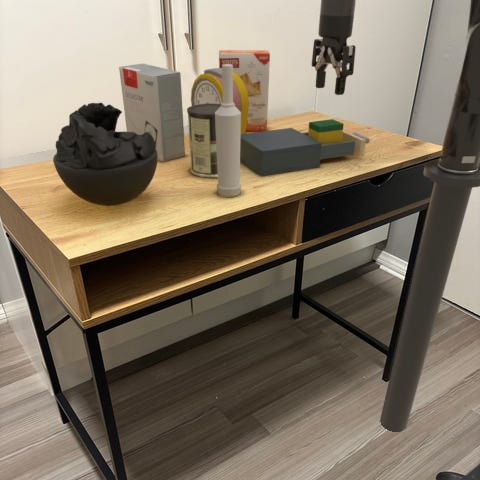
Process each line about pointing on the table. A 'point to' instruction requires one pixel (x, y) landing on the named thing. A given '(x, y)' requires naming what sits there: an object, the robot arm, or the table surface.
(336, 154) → the drawer
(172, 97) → the hard drive box
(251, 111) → the cracker box
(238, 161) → the bottle
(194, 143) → the coffee can
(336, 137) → the sponge
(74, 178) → the bowl of black rocks
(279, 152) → the cabinet
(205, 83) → the alarm clock
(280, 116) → the table surface
